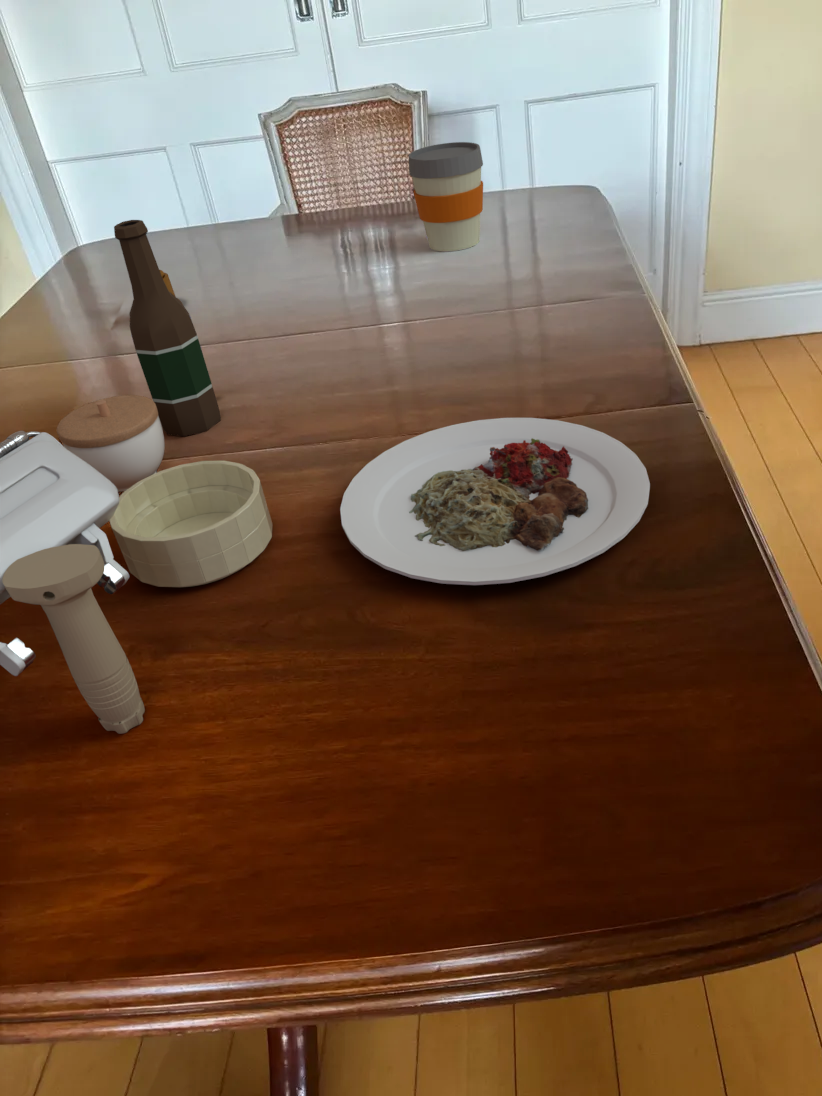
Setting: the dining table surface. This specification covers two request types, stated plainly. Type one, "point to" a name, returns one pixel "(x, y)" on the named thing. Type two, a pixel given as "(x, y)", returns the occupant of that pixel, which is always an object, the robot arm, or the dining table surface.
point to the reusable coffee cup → (448, 193)
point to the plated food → (495, 501)
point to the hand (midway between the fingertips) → (76, 624)
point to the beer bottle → (166, 341)
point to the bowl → (192, 523)
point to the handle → (80, 628)
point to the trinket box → (116, 438)
